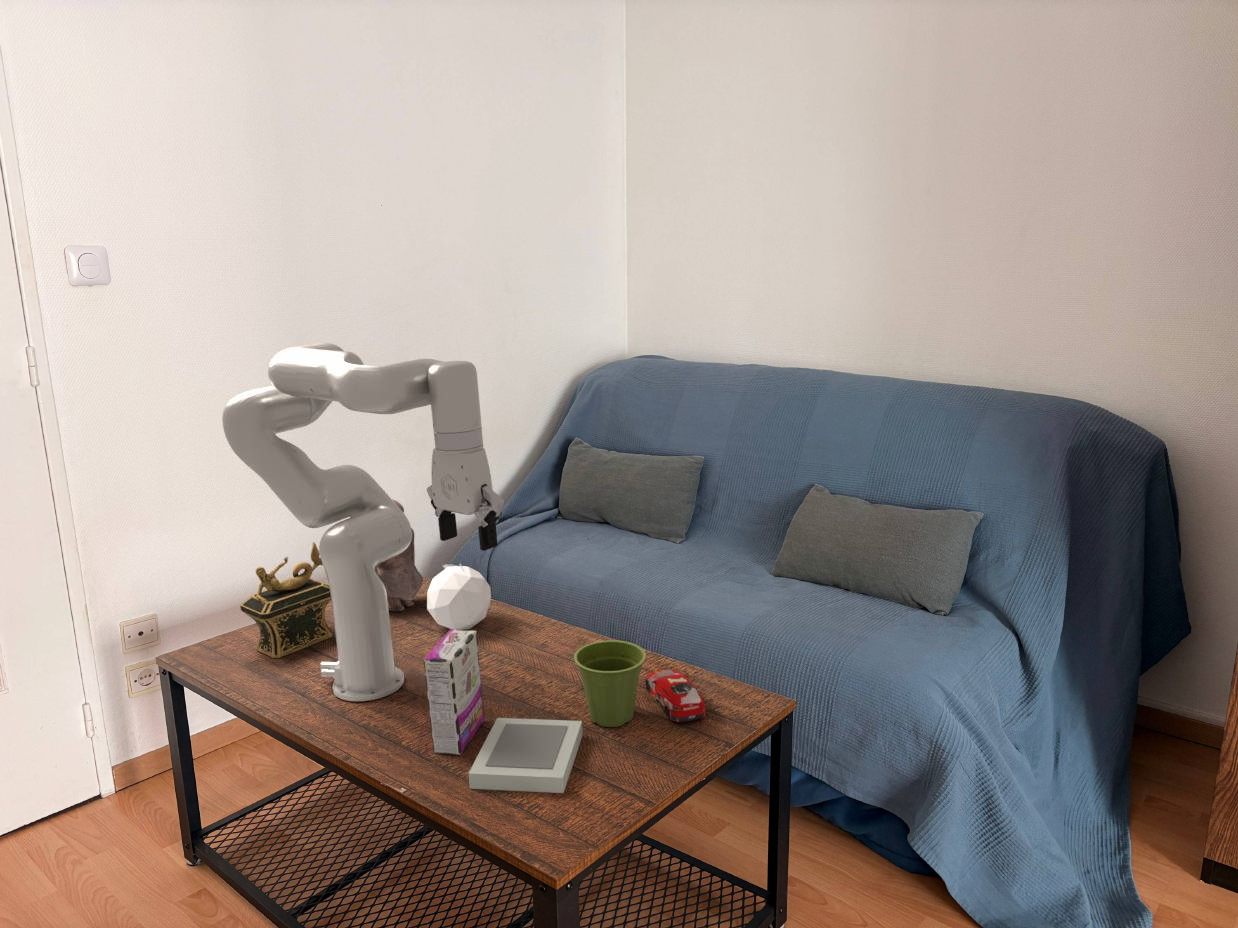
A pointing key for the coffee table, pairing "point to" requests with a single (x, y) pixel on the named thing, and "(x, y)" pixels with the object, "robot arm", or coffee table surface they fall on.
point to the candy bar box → (454, 691)
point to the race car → (675, 695)
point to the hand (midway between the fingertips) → (468, 543)
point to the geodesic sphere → (458, 597)
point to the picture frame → (527, 755)
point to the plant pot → (610, 679)
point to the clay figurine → (400, 576)
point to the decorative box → (290, 609)
